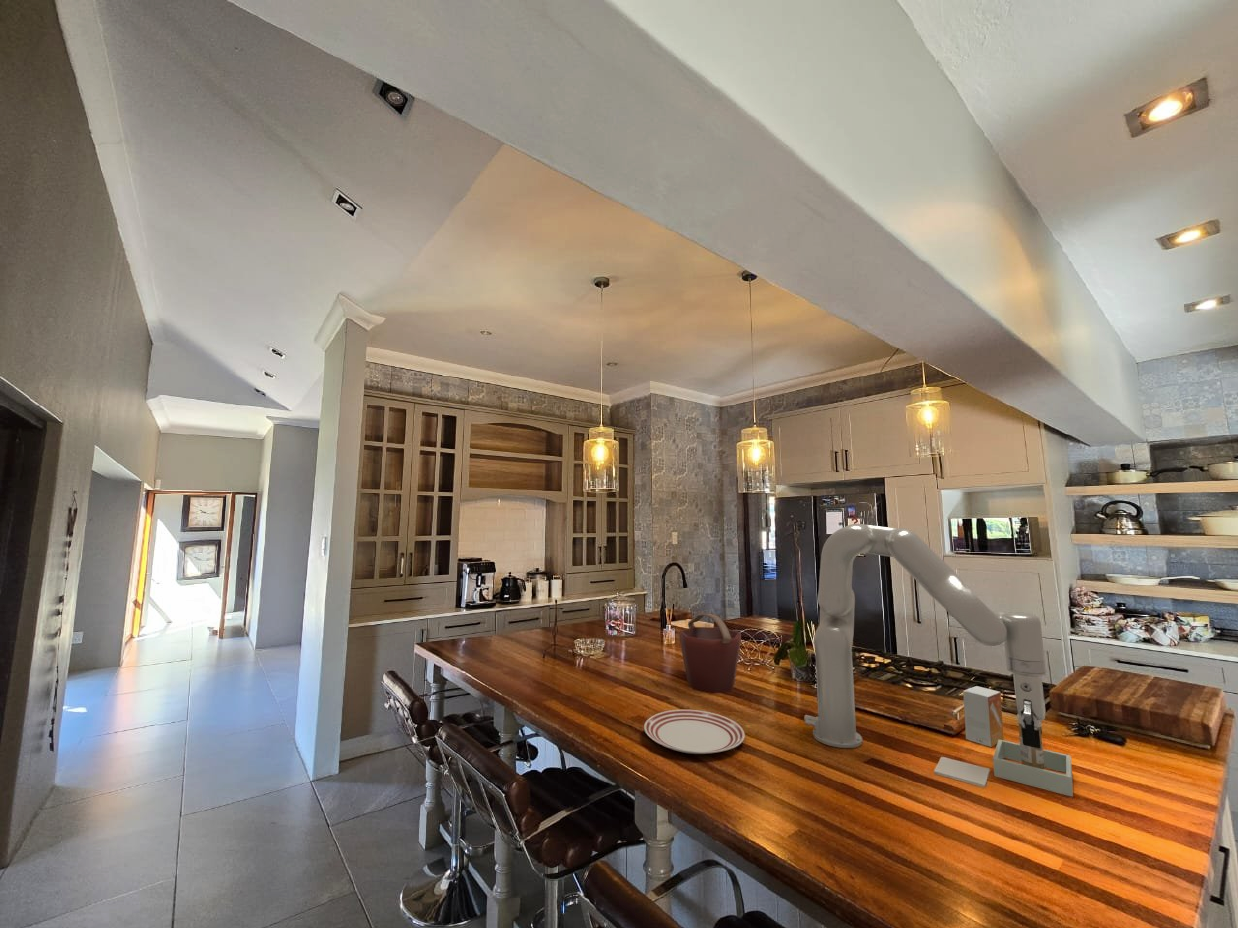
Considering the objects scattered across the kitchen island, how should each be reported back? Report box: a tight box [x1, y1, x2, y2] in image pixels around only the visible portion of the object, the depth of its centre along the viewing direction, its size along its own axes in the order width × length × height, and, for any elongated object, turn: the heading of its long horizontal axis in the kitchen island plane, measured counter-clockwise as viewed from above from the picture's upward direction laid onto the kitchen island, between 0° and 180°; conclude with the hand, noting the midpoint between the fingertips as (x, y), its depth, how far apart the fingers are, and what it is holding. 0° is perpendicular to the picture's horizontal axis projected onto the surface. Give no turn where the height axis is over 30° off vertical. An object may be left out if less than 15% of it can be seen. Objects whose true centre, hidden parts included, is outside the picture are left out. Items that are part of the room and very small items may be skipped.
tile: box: [933, 756, 991, 789], centre depth 124 cm, size 10×10×1 cm
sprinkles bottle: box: [1016, 713, 1045, 770], centre depth 124 cm, size 5×5×13 cm
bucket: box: [678, 613, 742, 694], centre depth 190 cm, size 24×22×25 cm
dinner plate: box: [643, 709, 746, 755], centre depth 143 cm, size 28×27×3 cm
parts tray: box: [992, 740, 1074, 798], centre depth 123 cm, size 14×14×4 cm
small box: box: [962, 685, 1005, 748], centre depth 143 cm, size 8×6×13 cm
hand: (1032, 739), depth 123 cm, fingers open, 9 cm apart
